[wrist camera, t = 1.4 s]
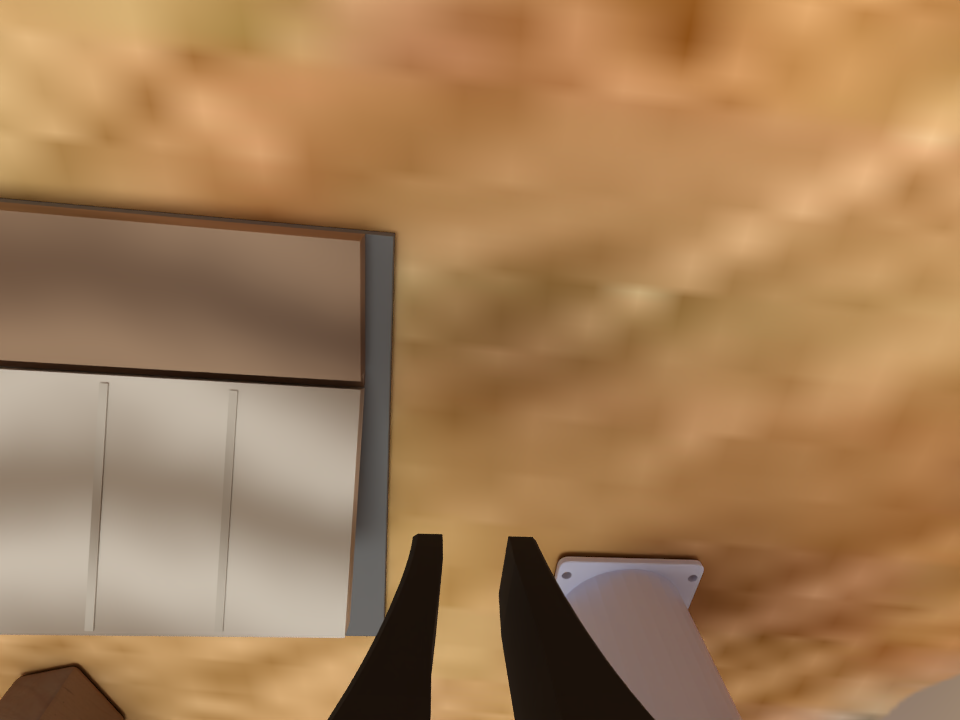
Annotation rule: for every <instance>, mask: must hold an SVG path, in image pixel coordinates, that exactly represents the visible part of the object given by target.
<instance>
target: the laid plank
mask: <svg viewBox="0 0 960 720" xmlns="http://www.w3.org/2000/svg"><path fill="white" fill-rule="evenodd" d="M0 366H7V367H24V368H41V369H58V370H75V371H93V372H110V373H127V374H144V375H161V376H179V377H196V378H213V379H230V380H247V381H265V382H282V383H299V384H316V385H333V386H351V387H364V385H365V234H359V233H348V232H337V231H325V230H314V229H303V228H291V227H280V226H268V225H257V224H246V223H234V222H223V221H212V220H200V219H189V218H177V217H166V216H155V215H143V214H132V213H121V212H109V211H98V210H86V209H75V208H64V207H52V206H41V205H29V204H18V203H7V202H0Z"/></svg>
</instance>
